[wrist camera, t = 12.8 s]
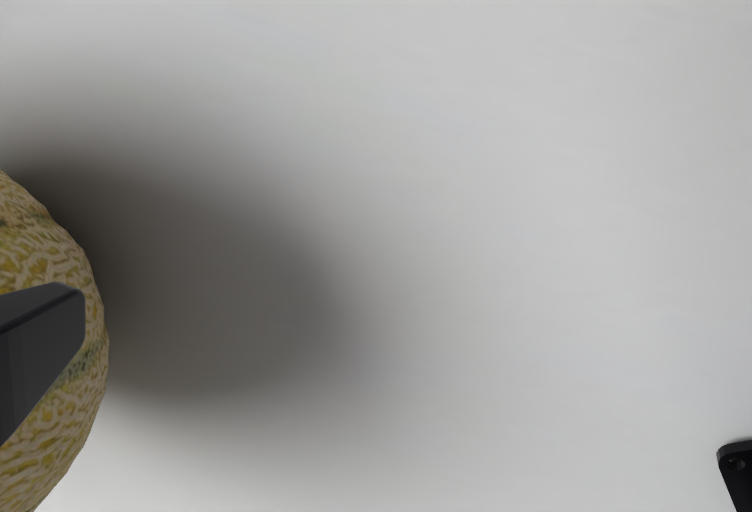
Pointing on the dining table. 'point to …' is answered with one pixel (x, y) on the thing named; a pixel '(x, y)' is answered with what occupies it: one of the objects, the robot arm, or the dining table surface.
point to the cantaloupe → (81, 376)
